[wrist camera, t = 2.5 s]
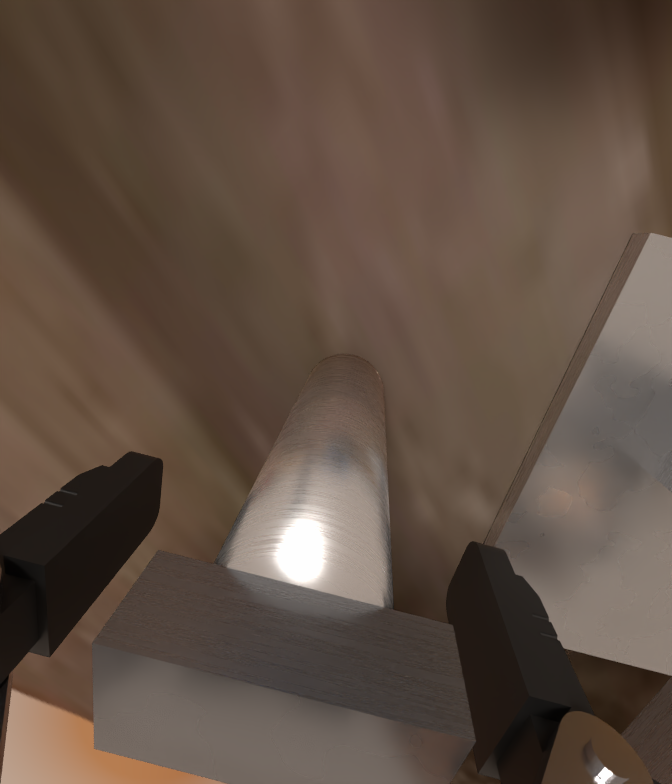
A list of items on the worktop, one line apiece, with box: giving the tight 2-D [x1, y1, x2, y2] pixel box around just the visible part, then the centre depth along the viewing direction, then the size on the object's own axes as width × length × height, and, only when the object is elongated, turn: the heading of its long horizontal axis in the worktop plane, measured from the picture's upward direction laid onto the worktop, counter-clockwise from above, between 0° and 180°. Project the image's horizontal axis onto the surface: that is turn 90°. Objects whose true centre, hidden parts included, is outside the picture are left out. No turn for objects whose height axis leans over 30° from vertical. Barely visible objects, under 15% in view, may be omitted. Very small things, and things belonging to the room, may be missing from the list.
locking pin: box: [92, 354, 476, 784], centre depth 12 cm, size 4×5×14 cm
